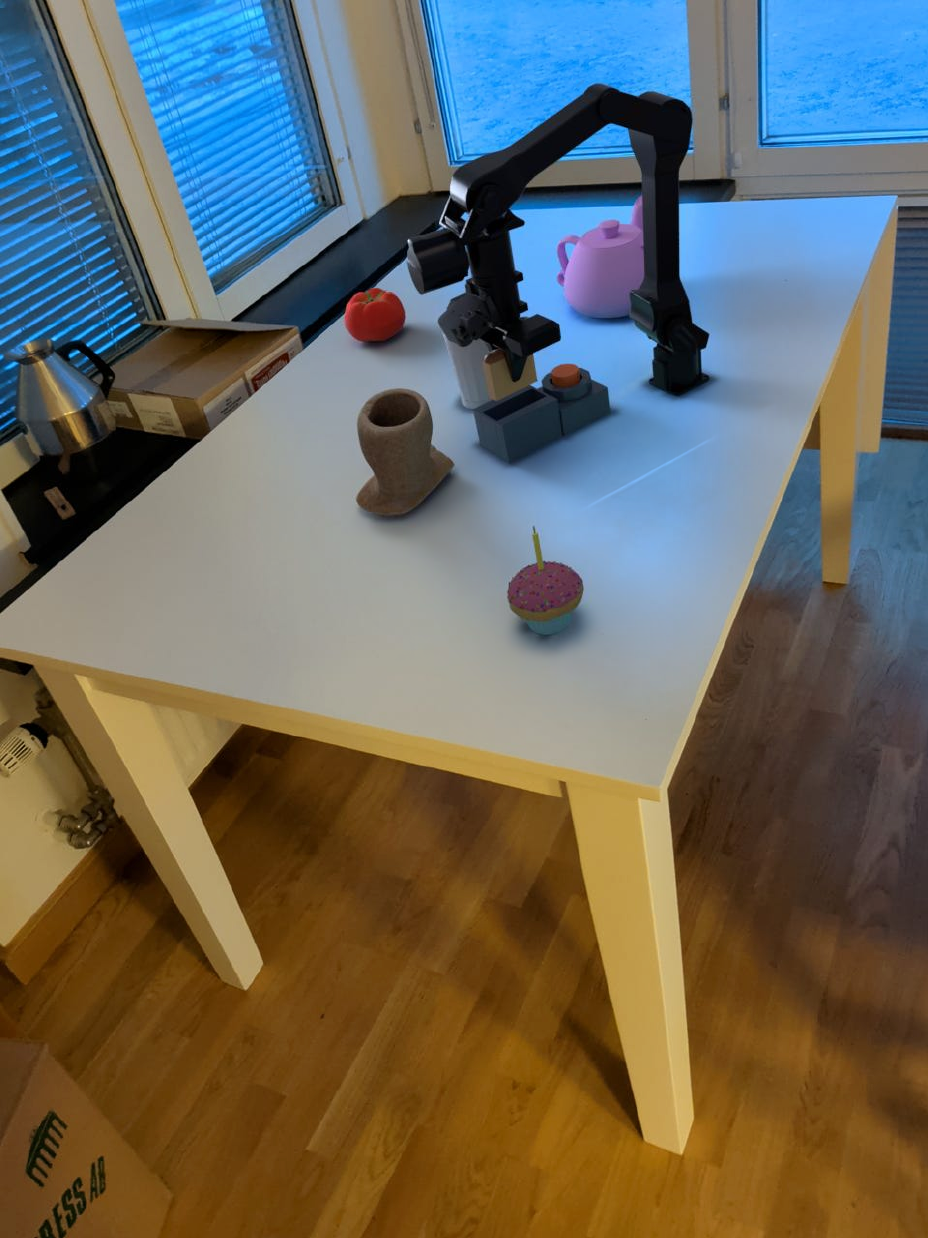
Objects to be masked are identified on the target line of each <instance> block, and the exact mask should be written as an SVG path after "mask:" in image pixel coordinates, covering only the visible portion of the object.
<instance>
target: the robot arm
mask: <svg viewBox="0 0 928 1238" xmlns="http://www.w3.org/2000/svg"><path fill="white" fill-rule="evenodd" d="M693 122H694V118H693V112H692V109H691V107H690V106H689V105H688V104H687V103H686V102H685V101H684V100H682V99H679V98H676V97H673V96H670V95H666V94H663V93H660V92H657V91H654V90H651V91H649V90H648V91H647V90H646V91H645V92H643V93H640V94H639V95H634V94H631V93H629V92H628V93H627V92H624V91H621V90H620V89H618V88H616V87H614V86H613V87H612V86H610V85H607V84H603V83H601V82H600V83H598V82H595V83H594V84H591V85H590V86H588V87H587V88H586V89H585V90H584V91H583V93H582V94H580V95H579V96H577V97H575V99H573V100H572V101H571V102H569V103H568V104H567V105H565V106H564V107H562V108H561V109H559V110H557V112H556V113H554V114H552V115H551V116H550V117H548V118H547V119H546V120H544V121H543V122H541V123H540V124H539V125H537V126H536V127H534V128H533V129H532V130H531V131H529V132H528V133H527V134H525V135H523V136H522V137H521V138H519V139H518V140H516V141H515V142H513V143H512V144H511V145H509V146H507V147H505V148H502V149H500V150H496V151H493V152H489V153H486V154H482V155H480V156H478V157H476V158H475V159H473V160H470V161H468V162H467V163H464V164H462V165H460V166H459V167H458V168H457V169H456V170H455V171H454V172H453V174H452V176H451V182H450V185H449V193H450V194H449V196H448V199H447V202H446V204H445V206H444V209H443V212H442V213H441V216H440V219H439V221H438V225H439V226H440V227H441V228H440V229H438V230H435V231H432V232H429V233H426V234H422V235H421V234H420V235H415V236H412V237H408V239H407V245H408V249H407V253H406V254H407V255H406V257H407V260H406V266H407V271H408V274H409V276H410V279H411V282H412V284H413V286H414V288H415V290H416V291H417V293H418V294H419V295H420V296H422V295H425V294H430V293H431V292H435V291H438V290H441V289H443V288H446V287H449V286H452V285H455V284H459V283H460V282H463V281H464V279H465V278H466V277H468V276H469V272H470V278H468V279H465V284H464V289H465V290H464V291H465V292H463V293H461V294H458V295H457V296H454V297H452V298H450V299H449V301H448V303H447V305H446V310H445V311H444V312H443V313H442V314H441V315H440V316H438V318H437V320H436V323H437V324H438V326H439V328H440V329H441V331H443V332H444V334H445V336H446V337H447V339H448V340H449V341H450V342H451V341H452V342H454V343H456V344H458V345H459V346H460V347H466V346H468V345H470V344H471V343H472V342H473V340H478V339H481V340H483V341H484V343H485V344H486V346H487V348H488V349H489V351H490V352H492V351H494V350H496V349H498V348H499V349H501V350H502V351H503V353H504V357H505V360H506V364H507V367H508V370H509V374H510V376H511V379H512V381H513V382H517V381H519V380H520V378H521V375H522V372H523V369H524V366H525V363H526V360H527V357H528V356H530V355H532V354H533V355H534V354H536V353H539V352H540V351H542V350H544V349H546V348H548V347H550V346H553V345H555V344H557V343H560V341H561V340H562V333H561V327H560V324H559V323H558V322H556V321H554V320H552V319H550V318H547V317H546V316H543V315H540V314H539V313H536V314H534V315H531V316H530V317H529V316H525V315H523V316H521V314H524V313H525V312H528V311H529V306H528V302H526V301H523V300H521V296H520V289H519V283H521V282H523V281H524V279H525V278H524V274H523V271H519V270H517V269H516V265H515V260H514V252H513V245H512V239H511V233H510V232H511V231H513V230H515V229H516V230H517V229H519V228H521V227H524V226H525V224H526V221H525V220H524V219H522V218H521V217H519V216H517V215H516V214H514V212H513V211H512V210H511V209H510V208H512V206H513V205H514V204H515V203H517V202H518V201H519V199H520V198H521V196H522V194H523V193H524V191H525V189H526V188H527V186H528V184H530V182H532V181H533V179H534V178H536V177H537V176H539V175H540V174H541V173H543V172H544V171H546V170H547V169H548V168H549V167H551V166H552V165H554V164H555V163H556V162H558V161H559V160H561V159H562V158H563V157H565V156H566V155H567V154H569V153H570V152H572V151H573V150H575V149H576V148H578V147H579V146H580V145H581V144H583V143H584V142H586V141H587V140H588V139H590V138H591V137H593V136H594V135H595V134H597V133H598V132H600V131H601V130H602V129H604V128H605V127H606V126H609V125H614V126H615V125H616V126H619V127H622V128H626V129H627V132H628V139H629V142H630V147H631V149H632V152H633V154H634V157H635V160H636V162H637V164H638V166H639V168H640V173H641V195H642V211H643V248H644V279H643V281H642V283H641V285H640V287H639V289H638V290H631V291H630V294H629V296H630V301H631V311H630V315H628V317H629V318H630V319H632V320H633V323H634V325H635V327H636V328H637V329H638V330H640V331H641V332H642V333H644V334H645V335H646V337H647V339H648V340H651V341H653V342H655V344H656V346H654V347H652V351H653V358H652V360H651V365H652V366H651V367H652V376H653V377H651V378H650V379H648V384H649V385H651V386H653V387H656V388H658V389H660V390H662V391H664V392H666V393H668V394H671V395H673V396H676V397H679V396H681V395H683V394H684V393H686V392H689V391H691V390H692V389H695V388H696V387H698V386H700V385H702V384H704V383H706V382H707V381H709V380H710V375H709V374H706V373H704V372H703V369H702V350H705V349H706V348H707V346H708V342H709V338H710V333H709V332H708V331H706V330H704V329H703V328H702V327H700V326H698V325H697V324H695V323H694V322H693V314H692V309H691V303H690V299H689V296H688V294H687V292H686V289H685V287H684V284H683V282H682V280H681V273H680V272H681V271H680V270H681V269H680V268H681V267H680V265H681V264H680V263H681V262H680V259H681V258H680V169H681V167H682V164H683V163H684V160H685V158H686V156H687V154H688V152H689V149H690V145H691V138H692V137H691V136H692V130H693V124H694V123H693ZM465 214H467V215H468V217H467V218H466V220H465V219H464V218H462V217H463V216H464V215H465Z"/></svg>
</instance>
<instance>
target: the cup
mask: <svg viewBox="0 0 928 1238" xmlns="http://www.w3.org/2000/svg"><path fill="white" fill-rule="evenodd" d="M441 331H442V330H441ZM442 336H443V339H444V343H445V346H446V349H447V352H448V357H449V359H450V362H451V363H450V364H451V366H452V369H453V373H454V376H455V380H456V384H457V386H458V389H459V395H460V398H461V402H462V405H463V406H464V407H465V408H467V409H471V410H473V409H475V408H477V407H479V406H481V405H483V404H485V403H487V402H489V401H491V400H493V399H491V398H490V397H489V396H488V391H487V386H486V380H485V375H484V370H483V365H482V361H483V360H484V358H485V356H486V355H487V354H488V353H490V351H489V349H488V348H487V346H486V344H485V343H484V341H483V340H481V339H478V340H473V342H472V343H471V344H470V345H468V346H466V347H460V346H459V345H458V344H456V343H454V342H452V341H451V342H450V341H449V340H448V339H447V337H446V336H445V334H444V332H443V331H442Z"/></svg>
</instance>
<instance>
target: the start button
mask: <svg viewBox="0 0 928 1238" xmlns="http://www.w3.org/2000/svg"><path fill="white" fill-rule="evenodd" d="M579 368H580V367H579V366H578V365H576V364H574V363H562V364H558V365H556V366H554V367H553V368H551V370H550V372H551V378H552V384H553V385H554V386H556V387H568V386H572V385H574V384H576V383H578V382H579V381H580V373H579Z"/></svg>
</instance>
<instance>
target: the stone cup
mask: <svg viewBox="0 0 928 1238" xmlns="http://www.w3.org/2000/svg"><path fill="white" fill-rule="evenodd" d="M357 415H358V416H357V422H356V430H357V437H358V442H359V447H360V450H361V453H362V456H363V457H364V459H365V461H366V463H367V465H368V466H369V467H370V469H371V470H372V472H373V474H374V475H373V476H372V477H371V478H369V479H368V480H367V482H365V484H364V485H363V486H362V488H360V490H359V491H358V493H357V494H356V497H355V502H356V503H357V506H359V507H360V508H361V509H362V510H365V511H367V512H369V513H372V514H374V515H379V516H385V517H387V516H390V517H391V516H401V515H405V514H407V513H409V512H411V511H412V510H414V508H416V507H418V506H419V505H420V504H421V503H422V502H423V501H424V500H425V499H426V498H428V496H430V494H431V493H432V492H433V491H434V490H435V488H436V487H438V486H439V484H440V483H441V482H442V481H443V480H444V478H445V477H446V476H447V475H448V474H449V473H450V472H451V471H452V469H453V468H454V467H455V462H454V461H453V460H452V459H451V458H450V456H448V455H446V454H444V453H443V452H442V451H440V450H438V449H437V448H436V447H435V445H433V444H432V441H433V440H432V439H433V433H434V420H433V416H432V412H431V408H430V405H429V404H428V401H427V400H426V399H425V398H424V397H423V395H422V394H420V393H419V392H417V391H415V390H414V389H413V390H412V389H409V388H402V387H400V388H398V387H396V388H389V389H385V390H382V391H380V392H378V393H375V394H373V395H372V396H371V397H370V398H368V399H367V401H366V402H365V403H364V405H363V406H362V408H360V411H359V413H358V414H357Z"/></svg>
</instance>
